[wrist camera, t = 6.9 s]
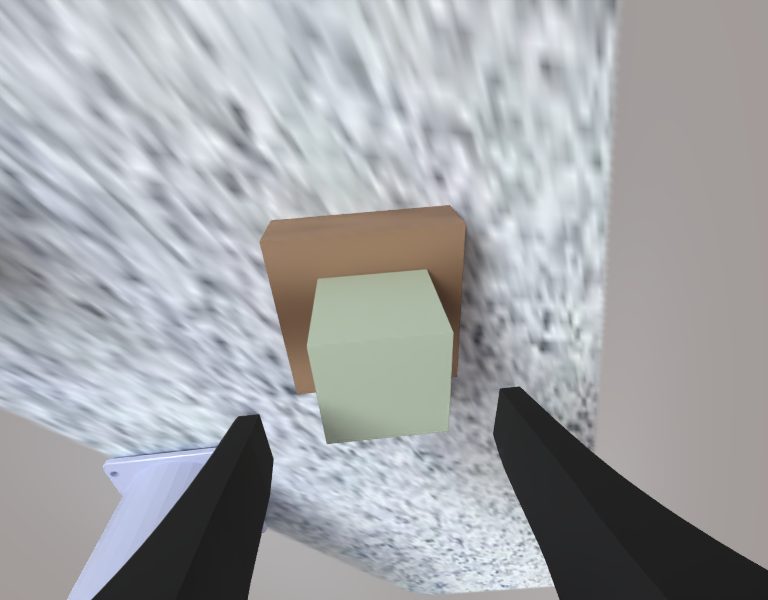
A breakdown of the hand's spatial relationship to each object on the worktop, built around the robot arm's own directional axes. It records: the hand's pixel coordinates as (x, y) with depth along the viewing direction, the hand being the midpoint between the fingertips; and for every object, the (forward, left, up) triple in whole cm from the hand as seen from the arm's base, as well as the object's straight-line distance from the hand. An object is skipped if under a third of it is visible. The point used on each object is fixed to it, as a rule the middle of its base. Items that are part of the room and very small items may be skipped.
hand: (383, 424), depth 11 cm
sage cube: (0, 0, -6) cm, 6 cm away
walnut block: (0, 0, -9) cm, 9 cm away
